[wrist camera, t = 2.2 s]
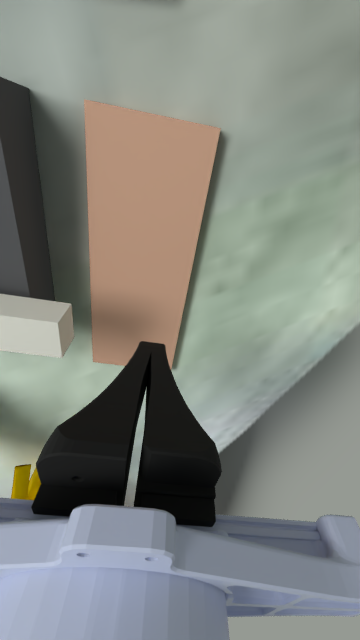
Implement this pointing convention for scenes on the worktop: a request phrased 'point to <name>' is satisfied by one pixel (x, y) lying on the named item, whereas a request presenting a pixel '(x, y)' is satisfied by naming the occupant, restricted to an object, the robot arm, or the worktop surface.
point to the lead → (21, 201)
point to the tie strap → (35, 326)
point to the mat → (142, 224)
